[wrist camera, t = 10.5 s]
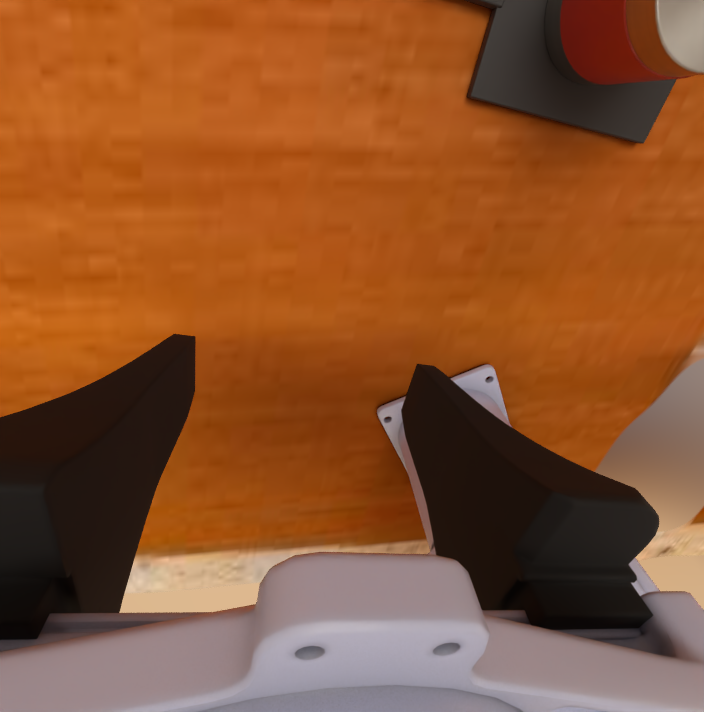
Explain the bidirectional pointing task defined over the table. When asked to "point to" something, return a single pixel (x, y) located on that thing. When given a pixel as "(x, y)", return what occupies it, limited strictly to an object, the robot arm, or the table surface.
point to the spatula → (555, 78)
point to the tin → (625, 39)
